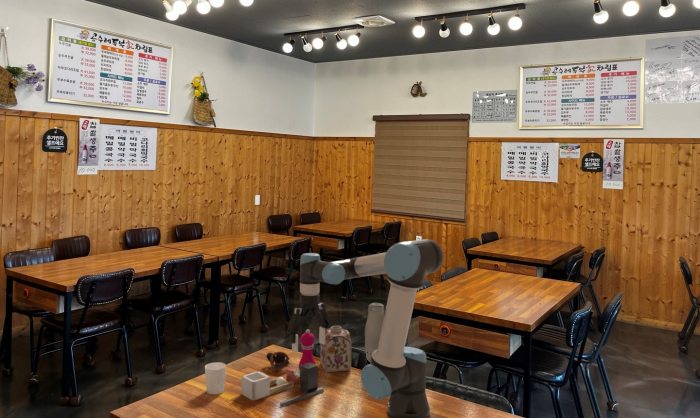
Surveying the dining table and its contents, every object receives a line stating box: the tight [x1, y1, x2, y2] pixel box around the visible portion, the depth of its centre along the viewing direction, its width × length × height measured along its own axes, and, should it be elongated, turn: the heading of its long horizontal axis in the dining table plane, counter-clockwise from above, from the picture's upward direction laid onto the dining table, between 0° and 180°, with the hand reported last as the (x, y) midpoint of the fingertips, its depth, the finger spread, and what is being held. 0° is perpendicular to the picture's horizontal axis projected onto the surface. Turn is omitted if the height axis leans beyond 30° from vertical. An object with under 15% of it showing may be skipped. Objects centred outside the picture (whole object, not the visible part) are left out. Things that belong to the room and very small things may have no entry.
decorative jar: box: [319, 325, 352, 373], centre depth 229 cm, size 12×12×18 cm
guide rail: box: [279, 387, 325, 408], centre depth 197 cm, size 1×20×1 cm, turn 134°
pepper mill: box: [298, 329, 317, 370], centre depth 218 cm, size 7×7×20 cm
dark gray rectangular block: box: [285, 362, 319, 394], centre depth 207 cm, size 16×5×10 cm, turn 44°
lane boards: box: [269, 376, 295, 396], centre depth 207 cm, size 8×12×2 cm
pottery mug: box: [266, 351, 291, 372], centre depth 228 cm, size 12×10×8 cm
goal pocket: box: [240, 370, 271, 402], centre depth 200 cm, size 8×8×7 cm
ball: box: [275, 376, 286, 386], centre depth 208 cm, size 4×4×4 cm
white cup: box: [204, 361, 227, 395], centre depth 202 cm, size 8×8×10 cm
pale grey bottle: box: [364, 302, 385, 362], centre depth 232 cm, size 10×10×28 cm
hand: (308, 347), depth 203 cm, fingers open, 13 cm apart
